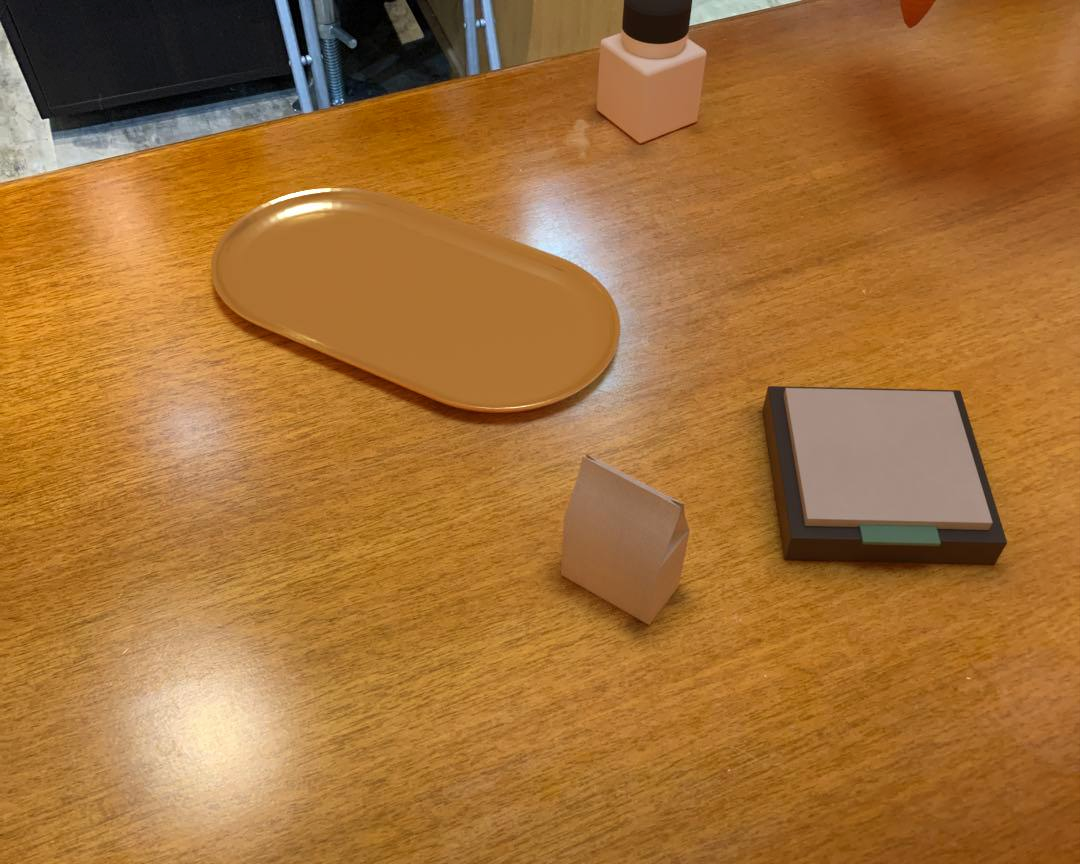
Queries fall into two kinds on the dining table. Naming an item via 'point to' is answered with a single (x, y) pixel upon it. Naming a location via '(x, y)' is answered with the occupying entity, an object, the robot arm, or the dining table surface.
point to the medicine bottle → (651, 70)
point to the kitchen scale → (879, 476)
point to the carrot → (915, 10)
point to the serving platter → (418, 298)
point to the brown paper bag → (623, 540)
